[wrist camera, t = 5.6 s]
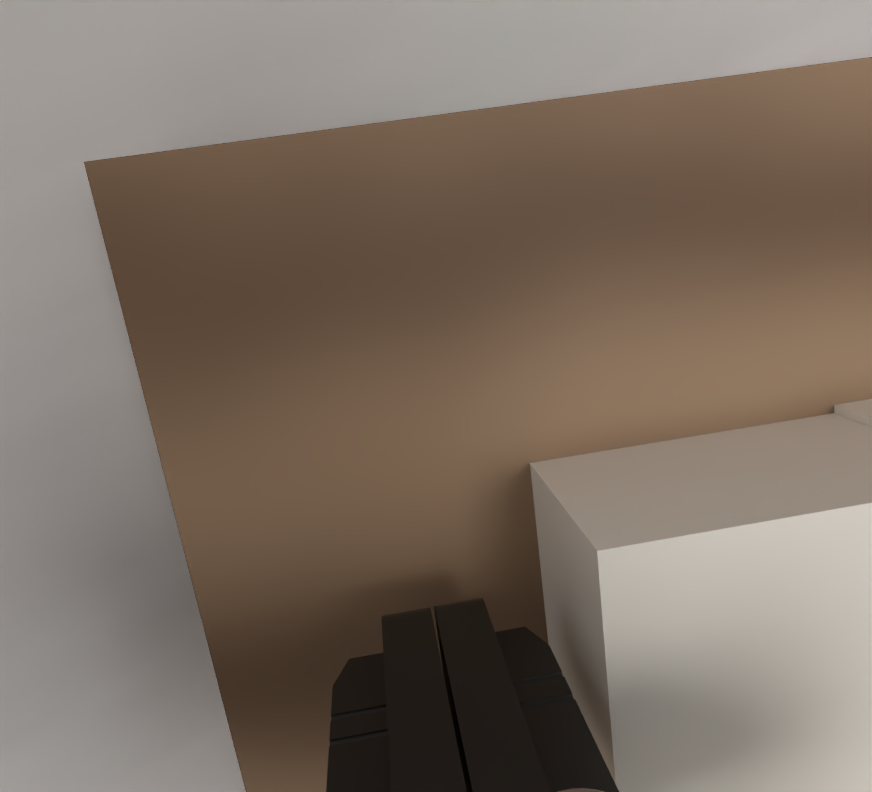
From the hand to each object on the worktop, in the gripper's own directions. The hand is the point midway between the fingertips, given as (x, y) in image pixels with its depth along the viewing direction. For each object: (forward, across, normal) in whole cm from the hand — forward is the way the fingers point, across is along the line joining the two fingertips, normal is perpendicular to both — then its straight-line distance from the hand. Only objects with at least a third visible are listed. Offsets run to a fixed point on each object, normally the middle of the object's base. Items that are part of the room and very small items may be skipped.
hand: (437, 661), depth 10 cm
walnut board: (+4, -4, 0) cm, 6 cm away
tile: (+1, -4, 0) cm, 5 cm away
